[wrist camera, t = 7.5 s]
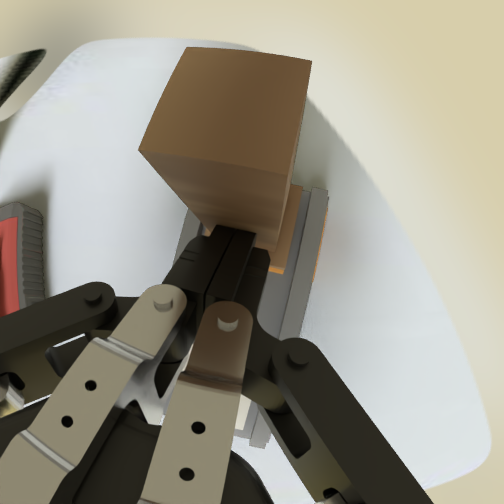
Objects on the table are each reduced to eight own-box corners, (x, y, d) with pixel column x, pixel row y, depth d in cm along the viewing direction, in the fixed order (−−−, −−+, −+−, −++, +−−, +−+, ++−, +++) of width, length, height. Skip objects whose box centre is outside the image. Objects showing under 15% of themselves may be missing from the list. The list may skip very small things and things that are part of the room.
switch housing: (156, 397, 16) (138, 411, 13) (208, 182, 18) (198, 163, 15) (269, 428, 16) (270, 450, 13) (324, 207, 17) (333, 192, 15)
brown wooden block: (205, 251, 15) (102, 175, 5) (225, 177, 16) (172, 31, 6) (284, 270, 15) (316, 216, 5) (300, 193, 15) (341, 50, 5)
